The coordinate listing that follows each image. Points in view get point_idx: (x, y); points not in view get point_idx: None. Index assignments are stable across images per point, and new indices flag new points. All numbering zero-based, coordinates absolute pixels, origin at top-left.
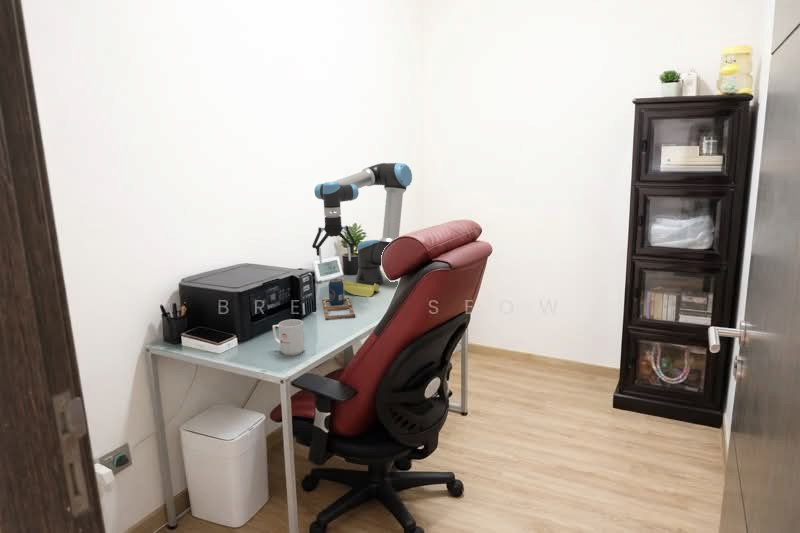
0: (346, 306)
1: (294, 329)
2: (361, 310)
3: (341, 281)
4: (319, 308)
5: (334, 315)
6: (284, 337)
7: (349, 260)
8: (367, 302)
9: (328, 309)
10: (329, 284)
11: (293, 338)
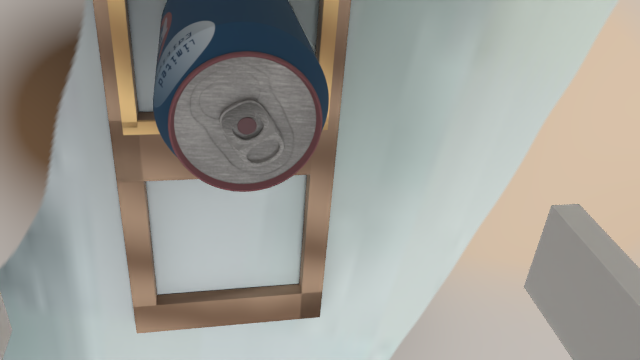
0: None
1: None
2: (383, 194)
3: (311, 146)
4: (72, 87)
5: (194, 303)
6: None
7: (531, 294)
8: (481, 20)
9: (153, 179)
10: (165, 141)
11: None
